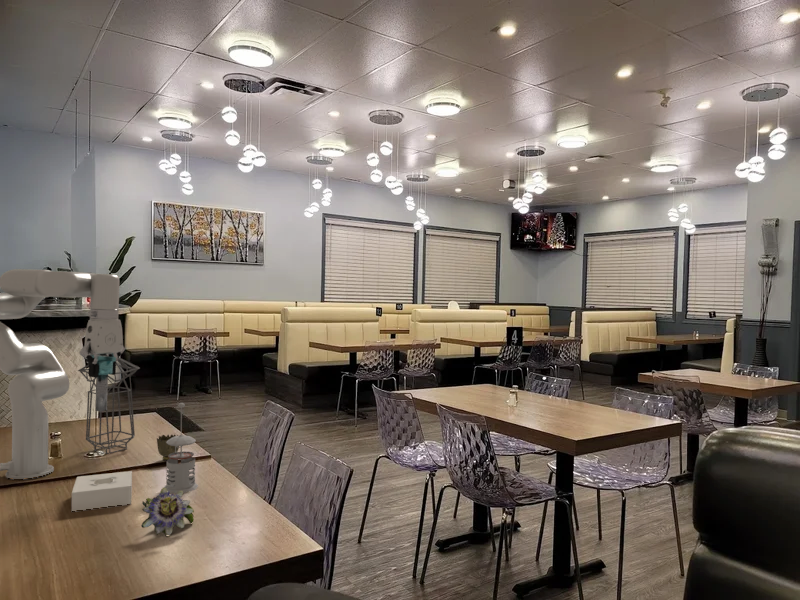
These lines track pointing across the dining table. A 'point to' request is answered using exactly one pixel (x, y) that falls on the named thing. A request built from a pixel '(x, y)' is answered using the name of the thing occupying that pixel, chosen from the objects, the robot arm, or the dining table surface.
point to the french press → (180, 472)
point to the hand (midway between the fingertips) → (102, 375)
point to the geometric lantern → (112, 407)
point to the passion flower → (167, 511)
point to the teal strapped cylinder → (103, 381)
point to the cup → (165, 446)
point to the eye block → (102, 490)
